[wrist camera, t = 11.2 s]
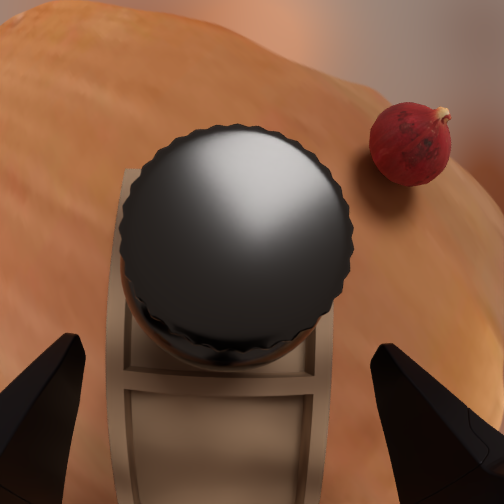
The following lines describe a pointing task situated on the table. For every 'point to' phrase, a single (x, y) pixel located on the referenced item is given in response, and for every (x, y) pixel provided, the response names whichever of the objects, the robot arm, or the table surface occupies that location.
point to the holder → (212, 415)
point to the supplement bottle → (233, 247)
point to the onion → (411, 143)
